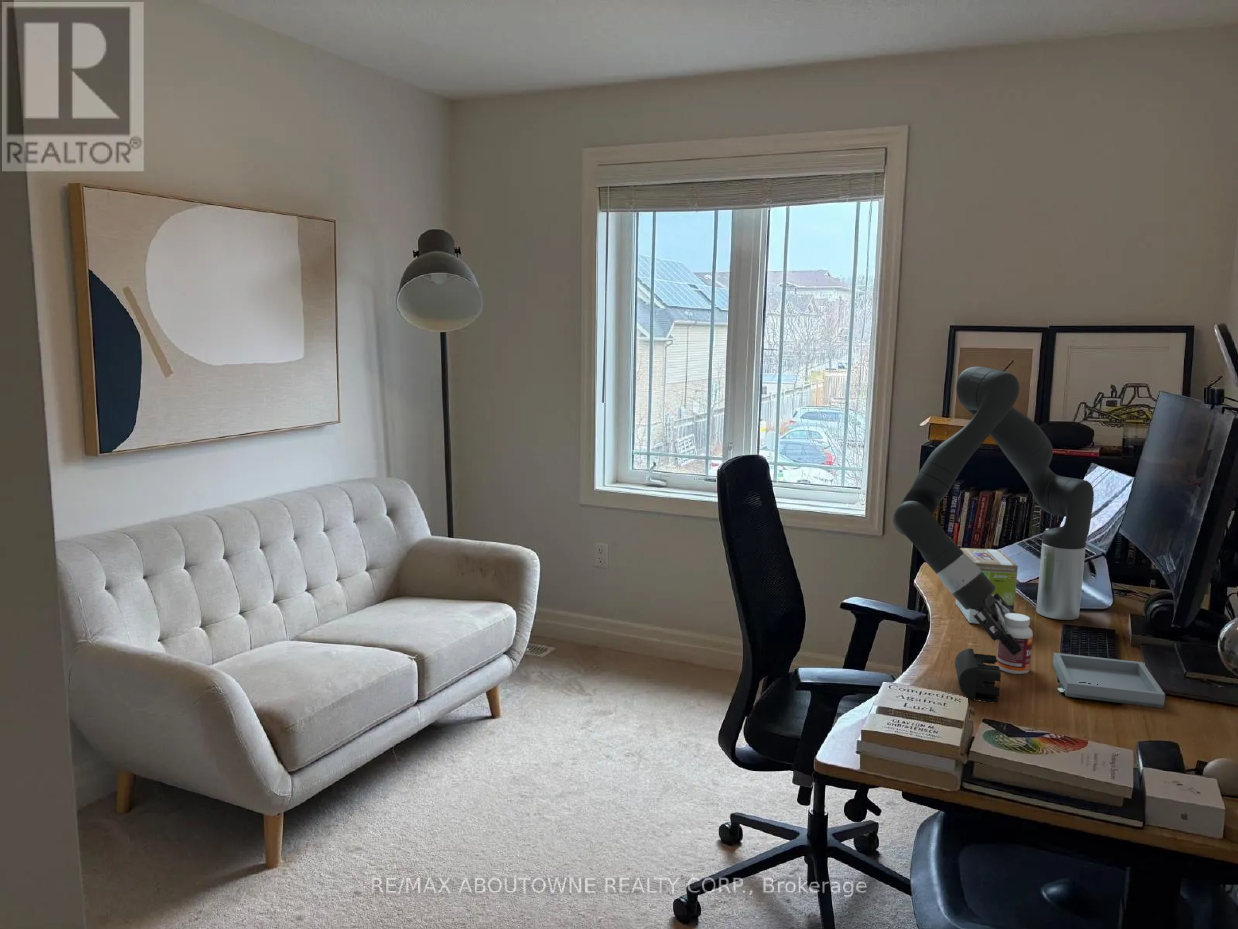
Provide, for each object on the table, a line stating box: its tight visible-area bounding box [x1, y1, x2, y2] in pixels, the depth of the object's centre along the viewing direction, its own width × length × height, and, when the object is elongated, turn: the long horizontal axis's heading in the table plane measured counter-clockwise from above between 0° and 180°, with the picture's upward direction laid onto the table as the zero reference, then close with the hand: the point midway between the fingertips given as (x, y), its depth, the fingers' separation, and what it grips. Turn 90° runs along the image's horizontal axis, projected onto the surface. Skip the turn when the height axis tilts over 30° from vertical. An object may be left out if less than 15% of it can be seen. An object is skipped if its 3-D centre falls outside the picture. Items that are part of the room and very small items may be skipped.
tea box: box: [955, 547, 1019, 625], centre depth 207 cm, size 15×10×15 cm
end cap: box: [954, 648, 1002, 704], centre depth 164 cm, size 10×7×7 cm
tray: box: [1052, 652, 1166, 709], centre depth 168 cm, size 16×16×3 cm
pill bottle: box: [996, 612, 1034, 675], centre depth 175 cm, size 6×6×11 cm
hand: (1021, 645), depth 174 cm, fingers open, 8 cm apart
